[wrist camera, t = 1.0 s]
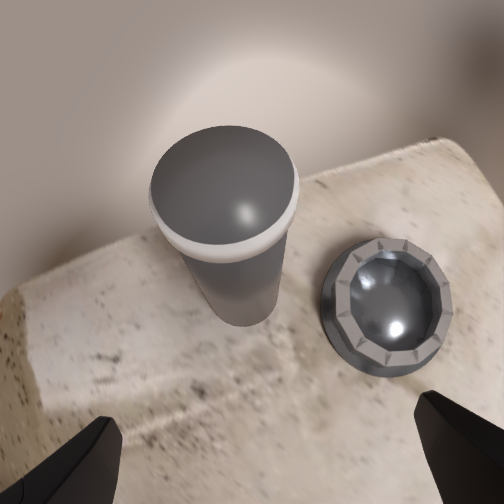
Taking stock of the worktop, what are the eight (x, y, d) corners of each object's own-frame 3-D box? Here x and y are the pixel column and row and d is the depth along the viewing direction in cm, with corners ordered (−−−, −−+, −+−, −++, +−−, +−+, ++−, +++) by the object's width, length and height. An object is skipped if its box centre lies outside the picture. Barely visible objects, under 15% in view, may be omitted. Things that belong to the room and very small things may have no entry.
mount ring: (415, 401, 19) (426, 401, 17) (292, 331, 21) (294, 326, 20) (461, 281, 22) (472, 274, 21) (358, 217, 25) (364, 206, 23)
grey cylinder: (253, 343, 21) (241, 277, 9) (192, 302, 22) (116, 197, 10) (293, 282, 23) (326, 157, 11) (233, 246, 24) (208, 107, 12)
